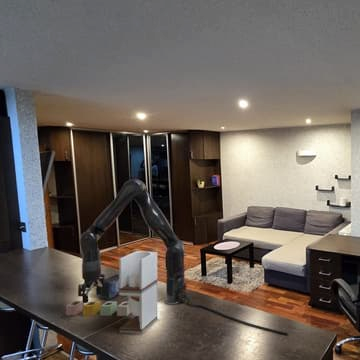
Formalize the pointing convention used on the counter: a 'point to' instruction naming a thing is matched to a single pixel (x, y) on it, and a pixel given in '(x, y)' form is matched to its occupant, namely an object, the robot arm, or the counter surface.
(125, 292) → the white shelf unit
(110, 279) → the small box
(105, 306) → the sage block
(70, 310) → the blush block
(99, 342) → the counter surface
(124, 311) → the cream block
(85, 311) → the mustard block
